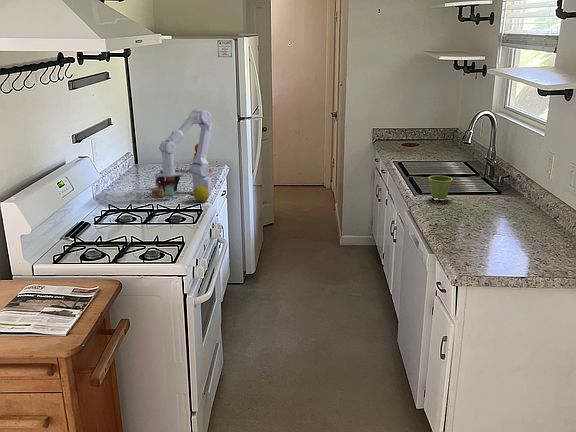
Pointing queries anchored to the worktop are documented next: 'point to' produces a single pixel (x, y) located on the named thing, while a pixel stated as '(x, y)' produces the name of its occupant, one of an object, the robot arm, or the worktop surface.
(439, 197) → the plant pot
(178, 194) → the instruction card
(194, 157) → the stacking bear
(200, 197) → the lemon
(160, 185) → the toy fire truck
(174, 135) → the robot arm
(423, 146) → the worktop surface
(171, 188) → the teal block
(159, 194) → the walnut block
